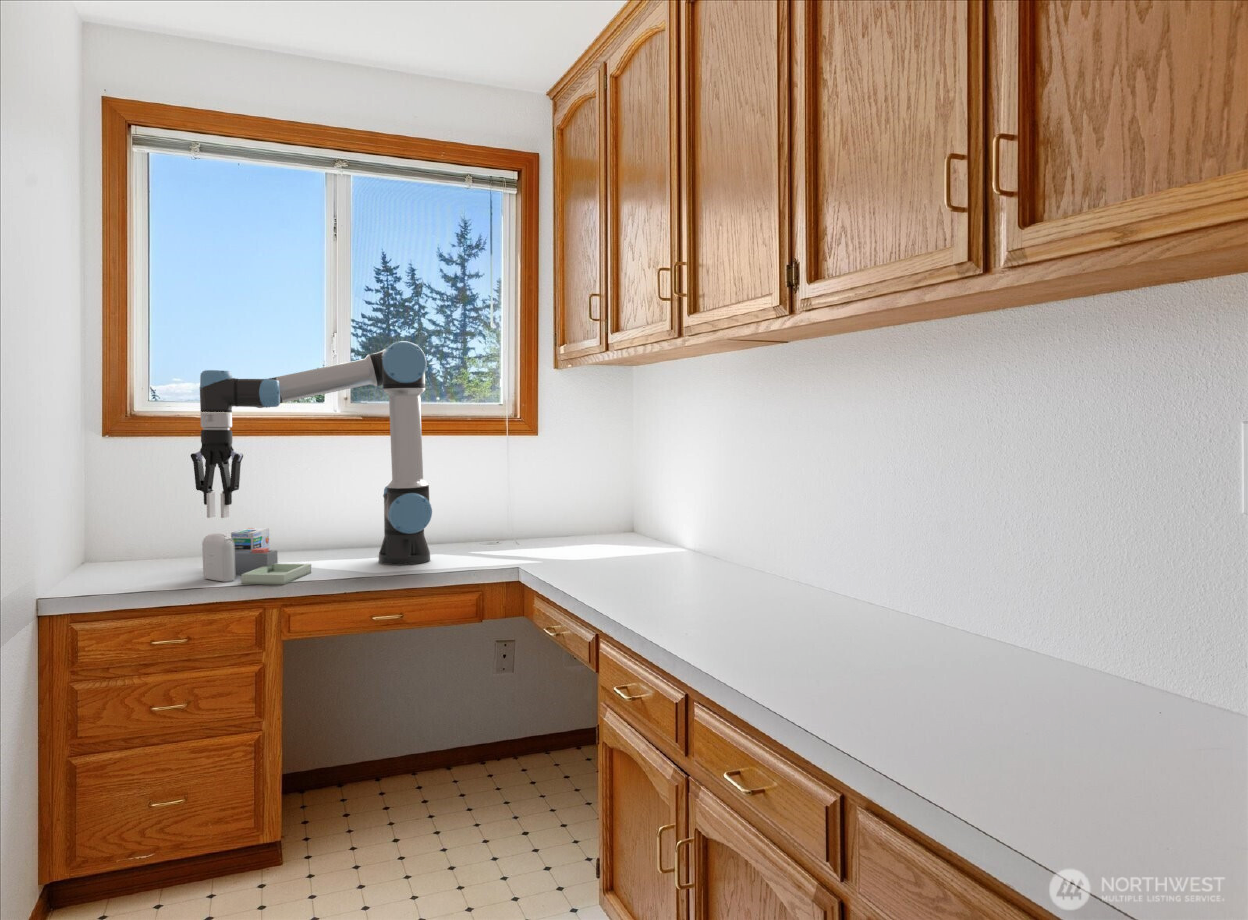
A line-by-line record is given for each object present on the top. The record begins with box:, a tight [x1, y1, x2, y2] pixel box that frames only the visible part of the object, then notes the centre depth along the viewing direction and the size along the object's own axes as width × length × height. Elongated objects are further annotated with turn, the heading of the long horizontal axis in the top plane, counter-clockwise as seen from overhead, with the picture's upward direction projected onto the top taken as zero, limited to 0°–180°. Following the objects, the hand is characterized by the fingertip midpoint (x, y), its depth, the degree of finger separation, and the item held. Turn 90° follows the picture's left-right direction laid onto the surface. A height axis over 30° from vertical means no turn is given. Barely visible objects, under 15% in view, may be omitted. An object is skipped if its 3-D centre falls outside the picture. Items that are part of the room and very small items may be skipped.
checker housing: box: [235, 549, 278, 576], centre depth 233 cm, size 14×6×6 cm, turn 87°
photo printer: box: [201, 532, 237, 583], centre depth 223 cm, size 10×4×12 cm, turn 57°
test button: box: [252, 547, 270, 553], centre depth 232 cm, size 3×3×5 cm
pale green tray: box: [240, 563, 312, 586], centre depth 226 cm, size 11×16×2 cm
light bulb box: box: [230, 527, 270, 550], centre depth 242 cm, size 11×7×11 cm, turn 179°
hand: (218, 517), depth 223 cm, fingers open, 3 cm apart
